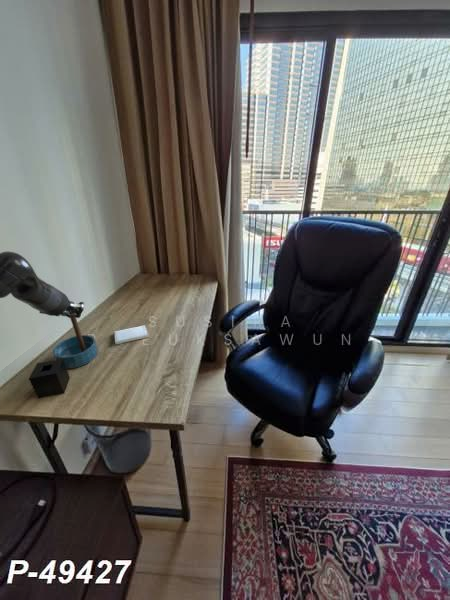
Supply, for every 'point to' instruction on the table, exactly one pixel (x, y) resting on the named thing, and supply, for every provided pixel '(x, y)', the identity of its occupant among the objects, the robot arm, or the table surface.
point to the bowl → (76, 351)
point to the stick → (77, 333)
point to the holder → (49, 378)
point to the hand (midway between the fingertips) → (75, 315)
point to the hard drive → (130, 334)
